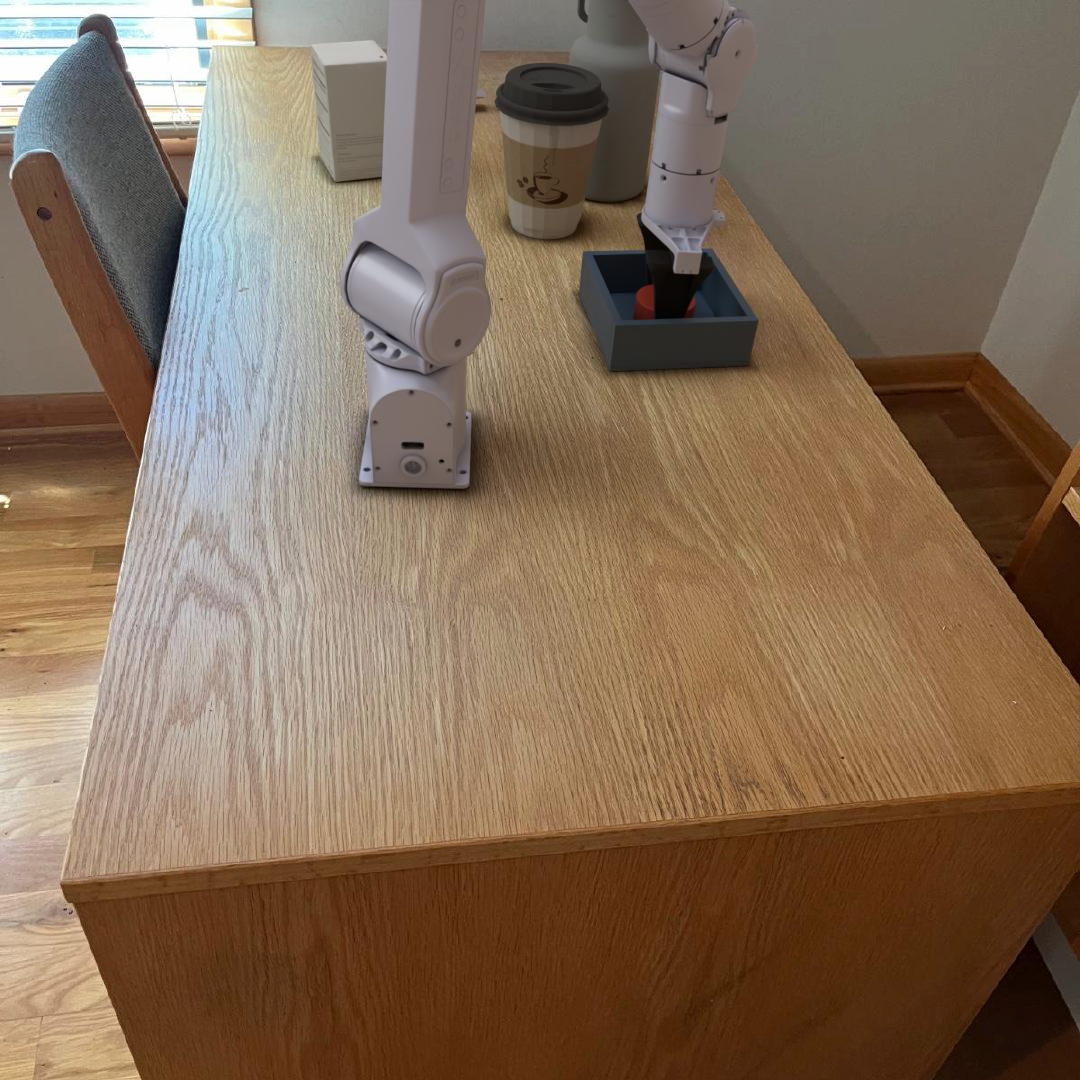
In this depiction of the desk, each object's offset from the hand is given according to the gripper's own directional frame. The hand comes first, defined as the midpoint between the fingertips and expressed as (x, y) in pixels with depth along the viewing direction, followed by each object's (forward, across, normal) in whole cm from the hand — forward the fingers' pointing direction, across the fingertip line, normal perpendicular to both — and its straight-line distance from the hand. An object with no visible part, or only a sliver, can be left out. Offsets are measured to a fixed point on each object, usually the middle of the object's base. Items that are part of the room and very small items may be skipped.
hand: (663, 310), depth 93 cm
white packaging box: (+2, +34, +31) cm, 46 cm away
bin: (+2, 0, 0) cm, 2 cm away
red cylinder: (+1, 0, 0) cm, 1 cm away
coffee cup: (+2, +21, +10) cm, 23 cm away
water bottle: (+2, +32, +3) cm, 32 cm away
